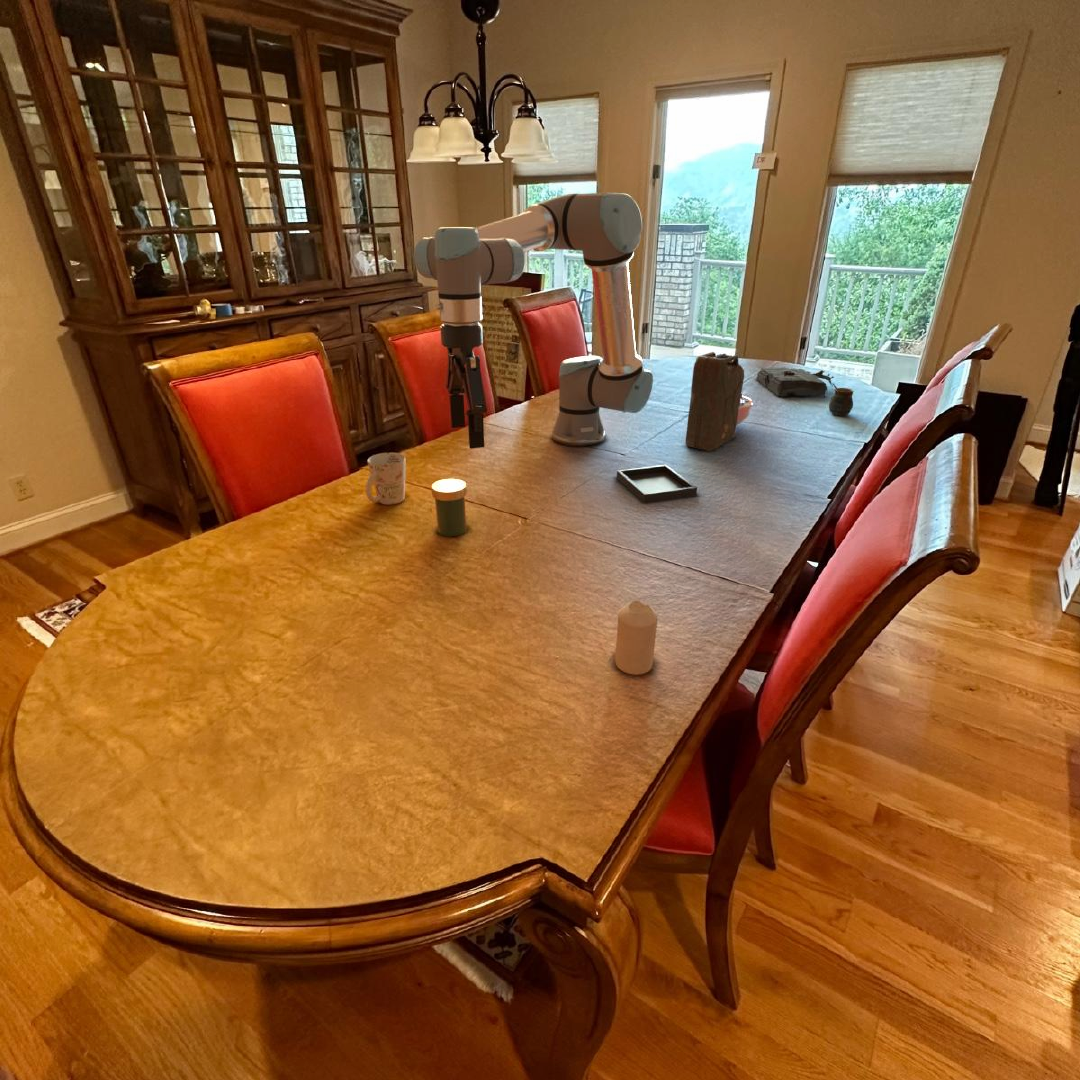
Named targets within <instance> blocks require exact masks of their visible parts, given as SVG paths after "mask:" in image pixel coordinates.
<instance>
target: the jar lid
mask: <svg viewBox="0 0 1080 1080" xmlns="http://www.w3.org/2000/svg"><path fill="white" fill-rule="evenodd" d="M467 489H468V488H467V483H466V482H465V481H464V480H461V479H457V478H447V479H440V480H437V481H435V482H434V483H432V485H431V495H432V498H433V499H434V500H435V499H438V500H442V501H452V500H458V499H461V498H463V497H464V496H466V495H467V492H468V490H467Z"/></svg>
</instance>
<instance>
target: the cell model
mask: <svg viewBox="0 0 1080 1080" xmlns="http://www.w3.org/2000/svg"><path fill="white" fill-rule="evenodd" d="M753 406H754V403H753V401H752V399H751V398H749V397H748V396H744V395H743V393H741V398H740V403H739V407H738V418H737V425H736V426H738V425H740V424H742V423H743V422H744V421H746V420H747V418H748V417H749V415H750V411H751V408H752V407H753Z"/></svg>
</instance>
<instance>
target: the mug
mask: <svg viewBox="0 0 1080 1080" xmlns="http://www.w3.org/2000/svg"><path fill="white" fill-rule="evenodd" d="M406 459H407V458H406V456H405V455H404V454H403V453H399V452H381V453H377V454H373V455H371V456H370V457H368V459H367V465H368V469H369V473H370V475H369V476H368V478H367V481H366V486H365V491H366V496H367V499H368V501H369V502H372V503H377V502H378V503H381V504H383V505H397V504H400V503H402V502H403V501H404V500H405V498H406V464H407V463H406ZM372 483H373V486H374V490H375V495H376V497H374V495H373V494H372V489H371V488H372Z"/></svg>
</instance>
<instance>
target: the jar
mask: <svg viewBox="0 0 1080 1080" xmlns="http://www.w3.org/2000/svg"><path fill="white" fill-rule="evenodd" d="M465 496H466V495H465ZM465 496H464V497H463V498H461V499H458V500H452V501H442V500H438V499H435V498H434V504H435V514H436V524H437V525H436V526H437V533H438V534H439V535H441V536H444V537H457V536H461V535H464V534H465V533H466V532H467V527H468V526H467V514H466V511H467V510H466V497H465Z"/></svg>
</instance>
